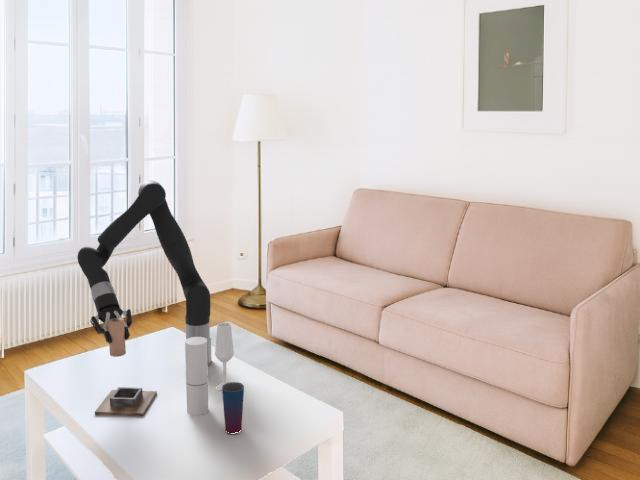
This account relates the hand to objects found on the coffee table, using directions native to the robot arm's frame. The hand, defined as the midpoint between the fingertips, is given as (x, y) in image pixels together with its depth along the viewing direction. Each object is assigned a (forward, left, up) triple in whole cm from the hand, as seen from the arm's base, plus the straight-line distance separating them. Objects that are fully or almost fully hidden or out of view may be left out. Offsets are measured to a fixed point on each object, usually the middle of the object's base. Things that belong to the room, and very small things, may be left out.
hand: (119, 340), depth 214 cm
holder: (-3, +3, -22) cm, 22 cm away
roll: (+1, -1, -5) cm, 6 cm away
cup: (-42, +18, -22) cm, 50 cm away
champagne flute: (-34, -12, -22) cm, 42 cm away
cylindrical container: (-28, +6, -22) cm, 36 cm away
